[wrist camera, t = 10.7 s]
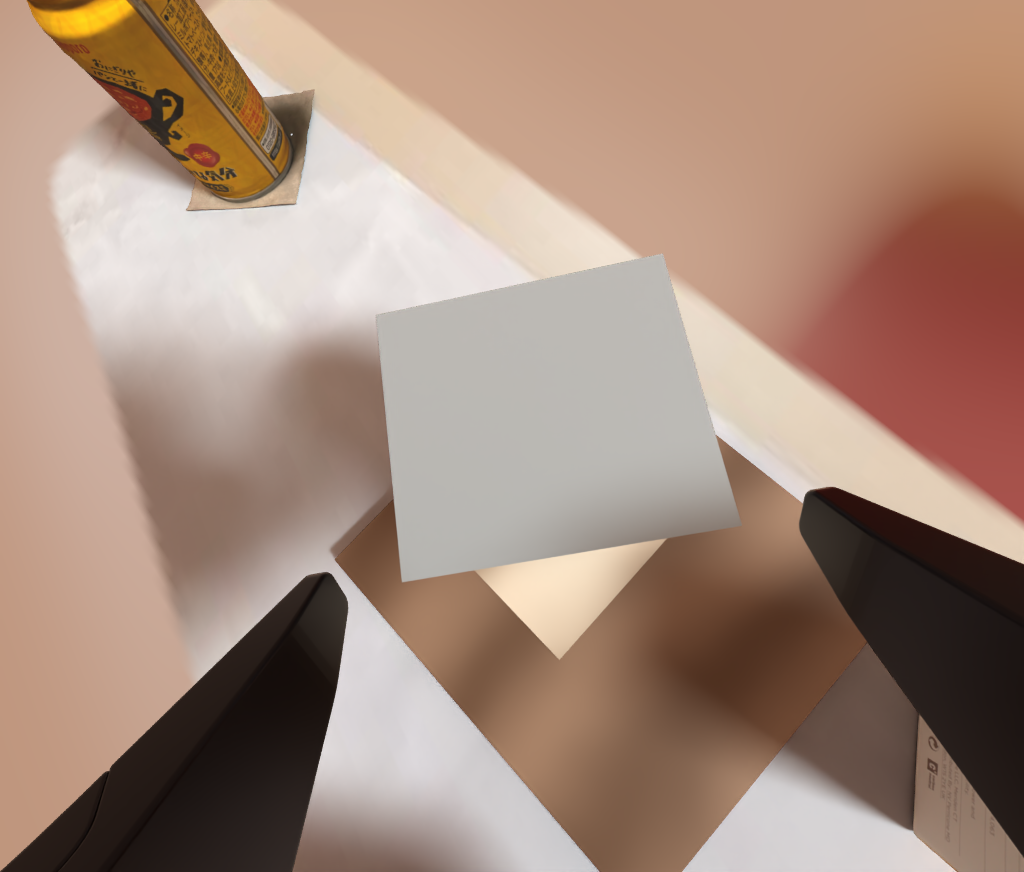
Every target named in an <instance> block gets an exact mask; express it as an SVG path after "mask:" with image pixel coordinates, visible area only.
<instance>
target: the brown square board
mask: <svg viewBox="0 0 1024 872" xmlns="http://www.w3.org/2000/svg"><path fill="white" fill-rule="evenodd" d="M716 438H717V441H718V445H719V448H720V452H721V455H722V459H723V462H724V465H725V469H726V472H727V476H728V479H729V483H730V486H731V489H732V493H733V496H734V500H735V503H736V507H737V510H738V513H739V517H740V520H741V524H742V526H738V527H732V528H726V529H720V530H714V531H708V532H702V533H695V534H689V535H683V536H677V537H671V538H665V539H659V540H653V541H647V542H641V543H635V544H629V545H623V546H617V547H611V548H605V549H599V550H593V551H587V552H581V553H575V554H569V555H563V556H557V557H551V558H545V559H539V560H533V561H527V562H521V563H515V564H509V565H503V566H497V567H491V568H485V569H479V570H473V571H467V572H461V573H455V574H449V575H443V576H437V577H431V578H425V579H419V580H413V581H407V582H402V578H401V568H400V557H399V547H398V537H397V527H396V516H395V506H394V499H393V500H392V501H391V502H390V503H389V504H388V505H387V506H386V507H385V508H384V509H383V510H382V511H381V512H380V513H379V514H378V515H377V516H376V517H375V518H374V520H373V521H372V522H371V523H370V524H369V525H368V526H367V527H366V528H365V529H364V530H363V531H362V532H361V533H360V534H359V535H358V536H357V537H356V538H355V539H354V540H353V541H352V542H351V543H350V544H349V545H348V546H347V547H346V548H345V549H344V550H343V551H342V552H341V553H340V555H339V556H338V557H337V558H336V559H335V561H336V562H337V563H338V564H339V566H340V567H341V568H342V569H343V570H344V571H345V573H346V574H347V575H348V576H349V577H350V579H351V580H352V581H353V582H354V583H355V584H356V586H357V587H358V588H359V589H360V590H361V591H362V593H363V594H364V595H365V596H366V597H367V598H368V600H369V601H370V602H371V603H372V604H373V606H374V607H375V608H376V609H377V610H378V611H379V613H380V614H381V615H382V616H383V617H384V618H385V620H386V621H387V622H388V623H389V624H390V626H391V627H392V628H393V629H394V630H395V631H396V633H397V634H398V635H399V636H400V637H401V638H402V640H403V641H404V642H405V643H406V644H407V646H408V647H409V648H410V649H411V650H412V651H413V653H414V654H415V655H416V656H417V657H418V658H419V660H420V661H421V662H422V663H423V664H424V665H425V667H426V668H427V669H428V670H429V671H430V673H431V674H432V675H433V676H434V677H435V678H436V680H437V681H438V682H439V683H440V684H441V685H442V687H443V688H444V689H445V690H446V691H447V693H448V694H449V695H450V696H451V697H452V698H453V700H454V701H455V702H456V703H457V704H458V705H459V707H460V708H461V709H462V710H463V711H464V712H465V714H466V715H467V716H468V717H469V718H470V720H471V721H472V722H473V723H474V724H475V725H476V727H477V728H478V729H479V730H480V731H481V732H482V734H483V735H484V736H485V737H486V738H487V740H488V741H489V742H490V743H491V744H492V745H493V747H494V748H495V749H496V750H497V751H498V752H499V754H500V755H501V756H502V757H503V758H504V760H505V761H506V762H507V763H508V764H509V765H510V767H511V768H512V769H513V770H514V771H515V772H516V774H517V775H518V776H519V777H520V778H521V779H522V781H523V782H524V783H525V784H526V785H527V787H528V788H529V789H530V790H531V791H532V792H533V794H534V795H535V796H536V797H537V798H538V799H539V801H540V802H541V803H542V804H543V805H544V807H545V808H546V809H547V810H548V811H549V812H550V814H551V815H552V816H553V817H554V818H555V819H556V821H557V822H558V823H559V824H560V825H561V826H562V828H563V829H564V830H565V831H566V832H567V834H568V835H569V836H570V837H571V838H572V839H573V841H574V842H575V843H576V844H577V845H578V846H579V848H580V849H581V850H582V851H583V852H584V854H585V855H586V856H587V857H588V858H589V859H590V861H591V862H592V863H593V864H594V865H595V866H596V868H597V869H598V870H599V871H600V872H682V871H683V870H684V868H685V867H686V866H687V865H688V863H689V862H690V861H691V860H692V858H693V857H694V856H695V855H696V854H697V852H698V851H699V850H700V849H701V847H702V846H703V845H704V844H705V842H706V841H707V840H708V839H709V837H710V836H711V835H712V834H713V833H714V831H715V830H716V829H717V828H718V826H719V825H720V824H721V823H722V821H723V820H724V819H725V818H726V816H727V815H728V814H729V813H730V811H731V810H732V809H733V808H734V807H735V805H736V804H737V803H738V802H739V800H740V799H741V798H742V797H743V795H744V794H745V793H746V792H747V790H748V789H749V788H750V787H751V785H752V784H753V783H754V782H755V781H756V779H757V778H758V777H759V776H760V774H761V773H762V772H763V771H764V769H765V768H766V767H767V766H768V764H769V763H770V762H771V761H772V760H773V758H774V757H775V756H776V755H777V753H778V752H779V751H780V750H781V748H782V747H783V746H784V745H785V743H786V742H787V741H788V740H789V738H790V737H791V736H792V735H793V734H794V732H795V731H796V730H797V729H798V727H799V726H800V725H801V724H802V722H803V721H804V720H805V719H806V717H807V716H808V715H809V714H810V713H811V711H812V710H813V709H814V708H815V706H816V705H817V704H818V703H819V701H820V700H821V699H822V698H823V696H824V695H825V694H826V693H827V691H828V690H829V689H830V688H831V687H832V685H833V684H834V683H835V682H836V680H837V679H838V678H839V677H840V675H841V674H842V673H843V672H844V670H845V669H846V668H847V667H848V665H849V664H850V663H851V662H852V661H853V659H854V658H855V657H856V656H857V654H858V653H859V652H860V651H861V649H862V648H863V647H864V646H865V644H866V643H867V641H866V640H865V638H864V637H863V635H862V634H861V633H860V631H859V630H858V629H857V627H856V626H855V624H854V623H853V621H852V620H851V618H850V617H849V616H848V614H847V612H846V611H845V609H844V608H843V606H842V604H841V603H840V601H839V600H838V598H837V596H836V594H835V593H834V591H833V589H832V587H831V586H830V584H829V582H828V581H827V579H826V577H825V575H824V574H823V572H822V570H821V569H820V567H819V565H818V563H817V562H816V560H815V558H814V557H813V555H812V553H811V551H810V550H809V548H808V546H807V545H806V543H805V541H804V539H803V538H802V536H801V533H800V530H799V519H800V515H801V511H802V506H803V503H801V502H800V501H799V500H798V499H796V498H795V497H794V496H793V495H791V494H790V493H789V492H787V491H786V490H785V489H784V488H782V487H781V486H780V485H779V484H777V483H776V482H775V481H774V480H772V479H771V478H770V477H769V476H767V475H766V474H765V473H763V472H762V471H761V470H760V469H758V468H757V467H756V466H755V465H753V464H752V463H751V462H750V461H748V460H747V459H746V458H745V457H743V456H742V455H741V454H739V453H738V452H737V451H736V450H734V449H733V448H732V447H731V446H729V445H728V444H727V443H726V442H724V441H723V440H722V439H721V438H719V437H718V436H717V435H716Z"/></svg>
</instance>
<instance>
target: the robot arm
mask: <svg viewBox="0 0 1024 872" xmlns="http://www.w3.org/2000/svg"><path fill="white" fill-rule="evenodd" d="M799 530H800V533H801V536H802V538H803V539H804V541H805V543H806V545H807V546H808V548H809V550H810V551H811V553H812V555H813V557H814V558H815V560H816V562H817V563H818V565H819V567H820V569H821V570H822V572H823V574H824V575H825V577H826V579H827V581H828V582H829V584H830V586H831V587H832V589H833V591H834V593H835V594H836V596H837V598H838V600H839V601H840V603H841V604H842V606H843V608H844V609H845V611H846V612H847V614H848V616H849V617H850V618H851V620H852V621H853V623H854V624H855V626H856V627H857V629H858V630H859V631H860V633H861V634H862V635H863V637H864V638H865V640H866V641H867V642H868V644H869V645H870V646H871V648H872V649H873V651H874V652H875V653H876V655H877V656H878V658H879V659H880V660H881V662H882V663H883V664H884V666H885V667H886V669H887V670H888V671H889V673H890V674H891V676H892V677H893V678H894V680H895V681H896V682H897V684H898V685H899V687H900V688H901V689H902V691H903V692H904V693H905V695H906V696H907V698H908V699H909V700H910V702H911V703H912V705H913V706H914V707H915V709H916V710H917V711H918V713H919V714H920V716H921V717H922V718H923V720H924V721H925V722H926V724H927V725H928V727H929V728H930V729H931V731H932V732H933V734H934V735H935V736H936V738H937V739H938V740H939V742H940V743H941V745H942V746H943V747H944V749H945V750H946V752H947V753H948V754H949V756H950V757H951V758H952V760H953V761H954V763H955V764H956V765H957V767H958V768H959V769H960V771H961V772H962V774H963V775H964V776H965V778H966V779H967V781H968V782H969V783H970V785H971V786H972V787H973V789H974V790H975V792H976V793H977V794H978V796H979V797H980V798H981V800H982V801H983V803H984V804H985V805H986V807H987V808H988V810H989V811H990V812H991V814H992V815H993V816H994V818H995V819H996V821H997V822H998V823H999V825H1000V826H1001V828H1002V829H1003V830H1004V832H1005V833H1006V834H1007V836H1008V837H1009V839H1010V840H1011V841H1012V843H1013V844H1014V845H1015V847H1016V848H1017V850H1018V851H1019V852H1020V854H1021V855H1022V857H1023V858H1024V564H1022V563H1019V562H1017V561H1015V560H1012V559H1010V558H1007V557H1005V556H1002V555H1000V554H998V553H995V552H993V551H990V550H988V549H985V548H983V547H980V546H978V545H976V544H973V543H971V542H968V541H966V540H963V539H961V538H958V537H956V536H954V535H951V534H949V533H946V532H944V531H941V530H939V529H937V528H934V527H932V526H929V525H927V524H924V523H922V522H919V521H917V520H915V519H912V518H910V517H907V516H905V515H902V514H900V513H897V512H895V511H893V510H890V509H888V508H885V507H883V506H880V505H878V504H876V503H873V502H871V501H868V500H866V499H863V498H861V497H858V496H856V495H854V494H851V493H849V492H846V491H844V490H841V489H839V488H836V487H825V488H819V489H813V490H810V491H808V492H807V493H806V494H805V497H804V502H803V506H802V511H801V515H800V519H799ZM347 614H348V601H347V598H346V596H345V594H344V593H343V591H342V590H341V588H340V586H339V585H338V583H337V582H336V580H335V579H334V577H333V576H332V574H330V573H328V572H323V573H317V574H311V575H308V576H306V577H305V578H304V579H303V580H302V581H301V582H299V583H298V584H297V585H296V586H295V587H294V588H293V589H292V590H291V591H290V592H289V593H288V594H287V595H286V596H285V597H284V598H283V599H282V600H281V601H280V602H279V603H278V604H277V605H276V606H275V607H274V608H273V609H272V610H271V611H270V612H269V613H268V614H267V615H266V616H265V617H264V618H263V619H262V620H261V621H260V622H258V623H257V624H256V625H255V626H254V627H253V628H252V629H251V630H250V631H249V632H248V633H247V634H246V635H245V636H244V637H243V638H242V639H241V640H240V641H239V642H238V643H237V644H236V645H235V646H234V647H233V648H232V649H231V650H230V651H229V652H228V653H227V654H226V655H225V656H224V657H223V658H222V659H221V660H220V661H218V662H217V663H216V664H215V665H214V666H213V667H212V668H211V669H210V670H209V671H208V672H207V673H206V674H205V675H204V676H203V677H202V678H201V679H200V680H199V681H198V682H197V683H196V684H195V685H194V686H193V687H192V688H191V689H190V690H189V691H188V692H187V693H186V694H185V695H184V696H183V697H182V698H181V699H180V700H178V701H177V702H176V703H175V704H174V705H173V706H172V707H171V708H170V709H169V710H168V711H167V712H166V713H165V714H164V715H163V716H162V717H161V718H160V719H159V720H158V721H157V722H156V723H155V724H154V725H153V726H152V727H151V728H150V729H149V730H148V731H147V732H146V733H145V734H144V735H143V736H142V737H141V738H139V739H138V741H136V742H135V743H134V744H133V746H131V747H130V748H129V749H128V750H127V751H126V752H125V753H124V754H123V755H122V756H121V757H120V758H119V759H118V760H117V761H116V762H115V763H114V764H113V765H112V766H111V768H110V771H107V772H105V773H104V774H102V776H100V777H99V778H98V779H97V780H96V781H95V782H94V783H93V784H92V785H91V786H90V787H89V788H88V789H87V790H86V791H85V792H84V793H83V794H82V795H81V796H80V797H79V798H78V799H77V800H76V801H75V802H74V803H73V804H72V805H71V806H70V807H69V808H67V809H66V811H64V812H63V813H62V814H61V815H60V816H59V817H58V818H57V819H56V820H55V821H54V822H53V823H52V824H51V825H50V826H49V827H47V829H45V830H44V832H42V833H41V834H40V835H39V836H38V837H37V838H36V839H35V840H34V841H33V842H32V843H31V844H30V845H29V846H28V847H26V848H25V849H24V850H23V851H22V852H21V853H20V854H19V855H18V856H17V857H15V858H14V859H13V860H12V861H11V862H10V863H9V864H8V865H7V866H6V867H5V868H3V870H1V871H0V872H292V871H293V867H294V862H295V858H296V854H297V850H298V846H299V842H300V838H301V834H302V830H303V826H304V822H305V817H306V813H307V809H308V805H309V801H310V797H311V793H312V789H313V785H314V781H315V776H316V772H317V768H318V764H319V760H320V756H321V752H322V748H323V744H324V740H325V736H326V731H327V727H328V723H329V719H330V715H331V711H332V707H333V703H334V698H335V694H336V689H337V683H338V677H339V671H340V664H341V657H342V650H343V643H344V635H345V628H346V621H347Z"/></svg>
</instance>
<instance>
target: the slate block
mask: <svg viewBox="0 0 1024 872" xmlns="http://www.w3.org/2000/svg"><path fill="white" fill-rule="evenodd" d="M376 321H377V332H378V342H379V352H380V362H381V373H382V383H383V393H384V403H385V414H386V424H387V434H388V444H389V455H390V465H391V475H392V486H393V496H394V506H395V516H396V527H397V537H398V547H399V557H400V568H401V578H402V582H407V581H413V580H419V579H425V578H431V577H437V576H443V575H449V574H455V573H461V572H467V571H473V570H479V569H485V568H491V567H497V566H503V565H509V564H515V563H521V562H527V561H533V560H539V559H545V558H551V557H557V556H563V555H569V554H575V553H581V552H587V551H593V550H599V549H605V548H611V547H617V546H623V545H629V544H635V543H641V542H647V541H653V540H659V539H665V538H671V537H677V536H683V535H689V534H695V533H702V532H708V531H714V530H720V529H726V528H732V527H738V526H742V524H741V520H740V517H739V513H738V510H737V507H736V503H735V500H734V496H733V493H732V489H731V486H730V483H729V479H728V476H727V472H726V469H725V465H724V462H723V459H722V455H721V452H720V448H719V445H718V441H717V438H716V435H715V431H714V428H713V424H712V421H711V417H710V414H709V411H708V407H707V404H706V400H705V397H704V393H703V390H702V387H701V383H700V380H699V376H698V373H697V369H696V366H695V363H694V359H693V356H692V352H691V349H690V345H689V342H688V339H687V335H686V332H685V328H684V325H683V321H682V318H681V315H680V311H679V308H678V304H677V301H676V297H675V294H674V291H673V287H672V284H671V280H670V277H669V273H668V270H667V267H666V263H665V260H664V256H663V254H659V255H654V256H649V257H645V258H640V259H635V260H631V261H626V262H621V263H617V264H612V265H607V266H603V267H598V268H593V269H589V270H584V271H579V272H575V273H570V274H565V275H561V276H556V277H551V278H547V279H542V280H537V281H533V282H528V283H523V284H519V285H514V286H510V287H505V288H500V289H496V290H491V291H486V292H482V293H477V294H472V295H468V296H463V297H458V298H454V299H449V300H444V301H440V302H435V303H430V304H426V305H421V306H416V307H412V308H407V309H402V310H398V311H393V312H388V313H384V314H379V315H376Z"/></svg>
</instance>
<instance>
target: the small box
mask: <svg viewBox="0 0 1024 872" xmlns="http://www.w3.org/2000/svg"><path fill="white" fill-rule="evenodd" d="M913 829H914V834H915V835H916V836H917V838H919V839H920V840H921V841H922V842H923V843H924V844H925V845H927V846H928V847H929V848H930V849H931V850H932V851H934V852H935V853H936V854H937V855H938V856H940V857H941V858H942V859H943V860H944V861H945V862H946V863H947V864H949V865H950V866H951V867H952V868H953V869H954V870H956V871H957V872H1024V858H1023V857H1022V855H1021V854H1020V852H1019V851H1018V850H1017V848H1016V847H1015V845H1014V844H1013V843H1012V841H1011V840H1010V839H1009V837H1008V836H1007V834H1006V833H1005V832H1004V830H1003V829H1002V828H1001V826H1000V825H999V823H998V822H997V821H996V819H995V818H994V816H993V815H992V814H991V812H990V811H989V810H988V808H987V807H986V805H985V804H984V803H983V801H982V800H981V798H980V797H979V796H978V794H977V793H976V792H975V790H974V789H973V787H972V786H971V785H970V783H969V782H968V781H967V779H966V778H965V776H964V775H963V774H962V772H961V771H960V769H959V768H958V767H957V765H956V764H955V763H954V761H953V760H952V758H951V757H950V756H949V754H948V753H947V752H946V750H945V749H944V747H943V746H942V745H941V743H940V742H939V740H938V739H937V738H936V736H935V735H934V734H933V732H932V731H931V729H930V728H929V727H928V725H927V724H926V722H925V721H924V720H923V718H922V717H921V716H920V714H919V722H918V741H917V760H916V777H915V802H914V822H913Z"/></svg>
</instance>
